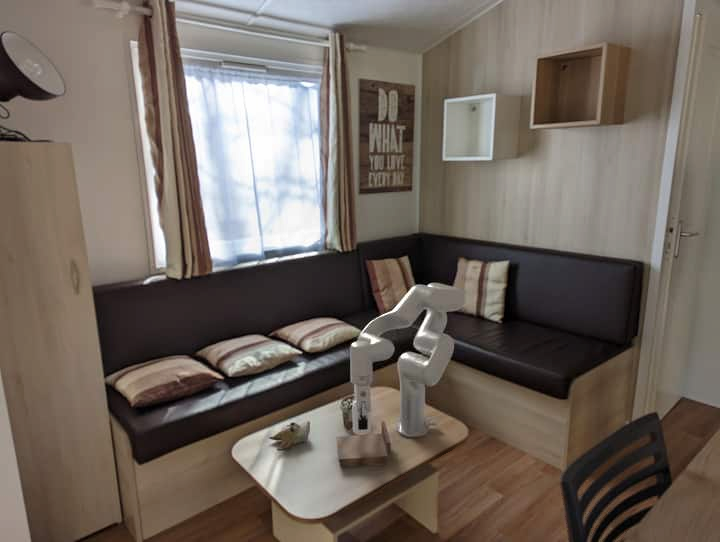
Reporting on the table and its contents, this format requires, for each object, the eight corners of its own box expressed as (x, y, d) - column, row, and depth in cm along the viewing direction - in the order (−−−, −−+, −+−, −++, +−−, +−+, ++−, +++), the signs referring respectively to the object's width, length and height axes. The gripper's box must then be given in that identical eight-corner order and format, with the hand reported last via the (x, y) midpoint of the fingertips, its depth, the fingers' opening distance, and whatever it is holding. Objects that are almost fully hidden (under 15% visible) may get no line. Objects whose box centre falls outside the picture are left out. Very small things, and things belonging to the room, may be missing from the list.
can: (363, 438, 175) (363, 406, 172) (349, 432, 178) (348, 401, 176) (374, 430, 180) (374, 399, 177) (360, 424, 183) (359, 394, 181)
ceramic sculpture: (314, 423, 187) (275, 436, 180) (316, 444, 189) (278, 458, 182) (303, 411, 196) (266, 423, 189) (306, 430, 198) (269, 443, 191)
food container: (351, 413, 210) (350, 391, 208) (363, 417, 207) (363, 395, 205) (334, 427, 200) (333, 404, 197) (347, 431, 197) (347, 408, 194)
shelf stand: (384, 442, 189) (384, 421, 187) (390, 465, 176) (390, 442, 173) (336, 446, 187) (336, 424, 185) (338, 469, 174) (338, 446, 172)
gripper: (375, 387, 166) (375, 436, 170) (369, 365, 183) (369, 410, 187) (352, 388, 165) (353, 437, 170) (348, 366, 182) (349, 412, 186)
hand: (361, 423), depth 178 cm, fingers closed on can, 6 cm apart
